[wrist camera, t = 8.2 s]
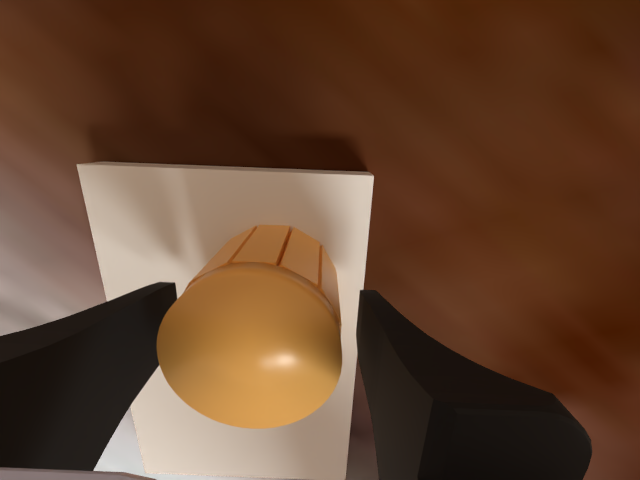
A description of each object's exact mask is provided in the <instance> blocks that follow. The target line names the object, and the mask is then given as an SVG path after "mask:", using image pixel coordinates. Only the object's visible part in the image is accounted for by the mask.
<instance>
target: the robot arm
mask: <svg viewBox="0 0 640 480" xmlns="http://www.w3.org/2000/svg"><path fill="white" fill-rule="evenodd" d="M176 300H177V292H176V285H175V282H157V283H154V284H151V285H148V286H145V287H142V288H140V289H137V290H135V291H132V292H130V293H127V294H125V295H122V296H120V297H117V298H115V299H112V300H110V301H108V302H105V303H103V304H100V305H97V306H95V307H92V308H89V309H87V310H84V311H81V312H79V313H76V314H73V315H71V316H68V317H65V318H62V319H59V320H56V321H53V322H50V323H46V324H43V325H40V326H37V327H33V328H30V329H26V330H23V331H19V332H15V333H11V334H7V335H3V336H0V480H156V479H152V478H148V477H143V476H139V475H134V474H129V473H125V472H103V471H93V470H94V468H95V466H96V464H97V462H98V461H99V459H100V457H101V455H102V453H103V451H104V449H105V448H106V446H107V444H108V442H109V440H110V439H111V437H112V435H113V434H114V432H115V430H116V428H117V427H118V425H119V423H120V421H121V420H122V418H123V416H124V415H125V413H126V412H127V410H128V409H129V407H130V406H131V404H132V402H133V401H134V400H135V398H136V397H137V395H138V394H139V393H140V391H141V390H142V388H143V387H144V386H145V384H146V383H147V381H148V380H149V379H150V377H151V376H152V375H153V373H154V372H155V370H156V369H157V368H158V366H159V361H158V357H157V336H158V331H159V327H160V325H161V322H162V320H163V318H164V316H165V314H166V313H167V311H168V310H169V308H170V307H171V306H172V305H173V304H174V303H175V302H176ZM356 342H357V352H358V360H359V364H360V369H361V373H362V378H363V382H364V386H365V391H366V395H367V400H368V404H369V409H370V413H371V419H372V424H373V432H374V440H375V448H376V456H377V465H378V473H379V480H583V477H584V475H585V473H586V471H587V469H588V466H589V463H590V459H591V455H592V446H591V439H590V438H589V436H588V434H587V432H586V431H585V429H584V428H583V427H582V426H581V424H580V423H579V422H578V421H577V420H576V419H575V418H574V417H573V416H572V414H571V413H570V412H569V411H568V410H567V409H566V408H565V407H564V406H563V404H562V403H561V402H560V401H559V400H558V399H557V398H556V397H555V396H554V395H553V394H552V393H549V392H546V391H543V390H541V389H538V388H535V387H532V386H530V385H527V384H524V383H521V382H519V381H516V380H513V379H511V378H508V377H506V376H504V375H501V374H499V373H497V372H494V371H492V370H490V369H488V368H485V367H483V366H481V365H479V364H477V363H475V362H473V361H471V360H469V359H467V358H465V357H463V356H461V355H460V354H458V353H456V352H454V351H452V350H451V349H449V348H447V347H445V346H444V345H442V344H441V343H439V342H438V341H436V340H435V339H433V338H431V337H430V336H428V335H427V334H426V333H424V332H423V331H421V330H420V329H419V328H418V327H416V326H415V325H414V324H412V323H411V322H410V321H409V320H408V319H406V318H405V317H404V316H403V315H402V314H400V313H399V312H398V311H397V310H396V309H395V308H394V307H393V306H392V305H391V304H390V303H389V302H387V301H386V300H385V299H384V298H383V297H382V296H381V295H380V294H379V293H378V292H377V291H376V290H360V294H359V305H358V316H357V327H356Z"/></svg>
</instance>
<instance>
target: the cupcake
mask: <svg viewBox="0 0 640 480" xmlns="http://www.w3.org/2000/svg"><path fill="white" fill-rule="evenodd" d="M341 327H342V324H341V313H340V303H339V292H338V282H337V272H336V268H335V267H334V265H333V263H332V261H331V259H330V258H329V256H328V254H327V252H326V250H325V249H324V247H323V245H321V246H320V242H319V241H317V240H315V239H314V238H312V237H310V236H309V235H307V234H305V233H303V232H302V231H300V230H298V229H297V228H295V227H294V228H293V229H292V231H291V232H290V226H285V225H259V226H258V228H257V226H254V227H252V228H250V229H248V230H246V231H244V232H243V233H241V234H239V235H237V236H235V237H233V238H231V239H230V240H229V241H228V242H227V243H226V244H225V245H224V246H223V247H222V248H221V249H220V250H219V251H218V253H217V254H216V255H215V256H214V257H213V258H212V259H211V260H210V261H209V262H208V263H207V264H206V265H205V266H204V267H203V268H202V270H201V271H200V272H199V273H198V274H197V275H196V276H195V277H194V278H193V279H192V280H191V281H190V282H189V283H188V285H187V287H186V289H185V291H184V293H183V294H182V295H181V296H180V297H179V298H178V299H177V300H176V302H175V303H174V304H173V305H172V306H171V307H170V308H169V310H168V311H167V313H166V314H165V316H164V318H163V320H162V322H161V325H160V327H159V331H158V336H157V357H158V361H159V365H160V368H161V370H162V373H163V375H164V377H165V379H166V381H167V382H168V384H169V386H170V387H171V388H172V389H173V391H174V392H175V393H176V394H177V395H178V396H179V397H180V398H181V399H182V400H183V401H184V402H185V403H186V404H187V405H189V406H190V407H191V408H193V409H194V410H196V411H197V412H199V413H200V414H202V415H204V416H206V417H208V418H210V419H212V420H215V421H217V422H220V423H223V424H227V425H230V426H235V427H241V428H250V429H266V428H275V427H279V426H284V425H288V424H291V423H294V422H296V421H298V420H301V419H303V418H305V417H307V416H308V415H310V414H311V413H313V412H314V411H316V410H317V409H318V408H319V407H321V406H322V405H323V404H324V403H325V402H326V400H327V399H328V398H329V397H330V395H331V394H332V393H333V391H334V389H335V387H336V385H337V383H338V380H339V377H340V374H341V368H342V346H341Z"/></svg>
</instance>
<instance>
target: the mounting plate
mask: <svg viewBox="0 0 640 480" xmlns="http://www.w3.org/2000/svg"><path fill="white" fill-rule="evenodd" d="M77 169H78V173H79V178H80V182H81V187H82V191H83V196H84V200H85V205H86V209H87V214H88V218H89V223H90V227H91V232H92V236H93V241H94V245H95V250H96V254H97V259H98V263H99V268H100V272H101V277H102V281H103V286H104V290H105V295H106V299H107V302H108V301H110V300H112V299H115V298H117V297H120V296H122V295H125V294H127V293H130V292H132V291H135V290H137V289H140V288H142V287H145V286H148V285H151V284H154V283H157V282H175V285H176V292H177V299H178V298H179V297H180V296H181V295H182V294H183V293H184V291H185V289H186V287H187V285H188V283H189V282H190V281H191V280H192V279H193V278H194V277H195V276H196V275H197V274H198V273H199V272H200V271H201V270H202V268H203V267H204V266H205V265H206V264H207V263H208V262H209V261H210V260H211V259H212V258H213V257H214V256H215V255H216V254H217V253H218V251H219V250H220V249H221V248H222V247H223V246H224V245H225V244H226V243H227V242H228V241H229V240H230V239H231V238H233V237H235V236H237V235H239V234H241V233H243V232H244V231H246V230H248V229H250V228H252V227H254V226H257V228H258V226H259V225H285V226H290V232H291V231H292V229H293V228H294V227H295V228H297V229H298V230H300V231H302V232H303V233H305V234H307V235H309V236H310V237H312V238H314V239H315V240H317V241H319V242H320V246H321V245H323V247H324V249H325V250H326V252H327V254H328V256H329V258H330V259H331V261H332V263H333V265H334V267H335V268H336V272H337V282H338V292H339V303H340V313H341V324H342V327H341V346H342V368H341V374H340V377H339V380H338V383H337V385H336V387H335V389H334V391H333V393H332V394H331V395H330V397H329V398H328V399H327V400H326V402H325V403H324V404H323V405H322V406H321V407H319V408H318V409H317V410H316V411H314V412H313V413H311V414H310V415H308V416H307V417H305V418H303V419H301V420H298V421H296V422H294V423H291V424H288V425H284V426H279V427H275V428H266V429H250V428H241V427H235V426H230V425H227V424H223V423H220V422H217V421H215V420H212V419H210V418H208V417H206V416H204V415H202V414H200V413H199V412H197V411H196V410H194V409H193V408H191V407H190V406H189V405H187V404H186V403H185V402H184V401H183V400H182V399H181V398H180V397H179V396H178V395H177V394H176V393H175V392H174V391H173V389H172V388H171V387H170V386H169V384H168V382H167V381H166V379H165V377H164V375H163V373H162V370H161V368H160V365H159V366H158V368H157V369H156V370H155V372H154V373H153V375H152V376H151V377H150V379H149V380H148V381H147V383H146V384H145V386H144V387H143V388H142V390H141V391H140V393H139V394H138V395H137V397H136V398H135V400H134V401H133V402H132V404H131V406H130V407H131V411H132V416H133V420H134V425H135V429H136V434H137V438H138V443H139V447H140V452H141V456H142V461H143V465H144V470H145V473H156V474H181V475H206V476H232V477H257V478H283V479H308V480H345V479H346V468H347V457H348V447H349V436H350V426H351V415H352V404H353V394H354V383H355V372H356V362H357V342H356V327H357V316H358V305H359V294H360V290H363V287H364V277H365V266H366V255H367V245H368V234H369V223H370V213H371V202H372V192H373V181H374V175H372V174H371V173H370V172H359V171H333V170H307V169H281V168H256V167H230V166H204V165H178V164H153V163H127V162H94V163H84V164H77Z"/></svg>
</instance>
